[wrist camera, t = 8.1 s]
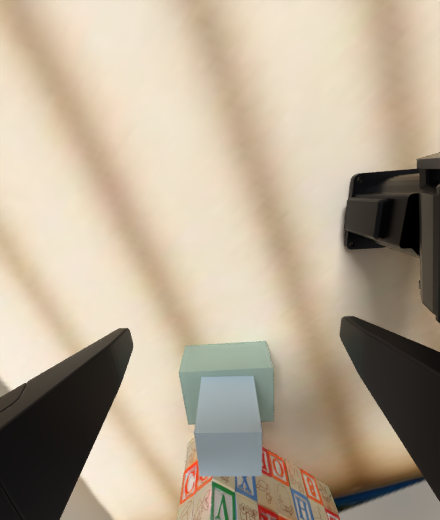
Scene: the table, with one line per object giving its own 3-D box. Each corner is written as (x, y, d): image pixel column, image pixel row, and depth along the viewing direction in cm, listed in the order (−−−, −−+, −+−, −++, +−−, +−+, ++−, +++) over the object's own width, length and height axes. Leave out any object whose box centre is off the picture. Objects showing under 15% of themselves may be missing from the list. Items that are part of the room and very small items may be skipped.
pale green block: (265, 339, 24) (273, 367, 20) (266, 387, 26) (274, 421, 22) (185, 343, 24) (178, 372, 20) (193, 390, 26) (188, 424, 22)
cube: (253, 375, 20) (262, 432, 15) (253, 414, 22) (261, 476, 17) (201, 376, 20) (194, 433, 16) (205, 414, 22) (199, 476, 17)
